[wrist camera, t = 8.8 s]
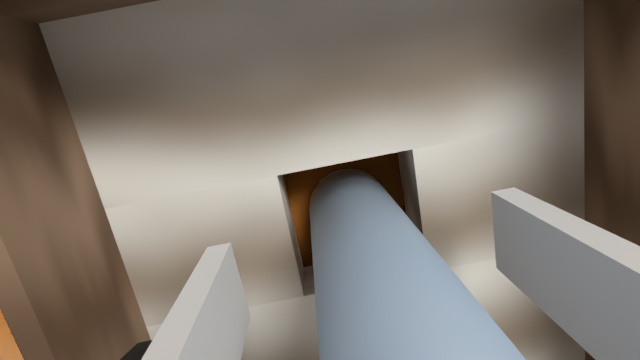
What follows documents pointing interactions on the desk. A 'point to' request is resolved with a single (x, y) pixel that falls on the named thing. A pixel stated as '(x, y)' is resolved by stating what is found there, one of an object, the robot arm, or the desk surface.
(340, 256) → the peg
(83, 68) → the box
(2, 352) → the desk surface
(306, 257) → the desk surface
